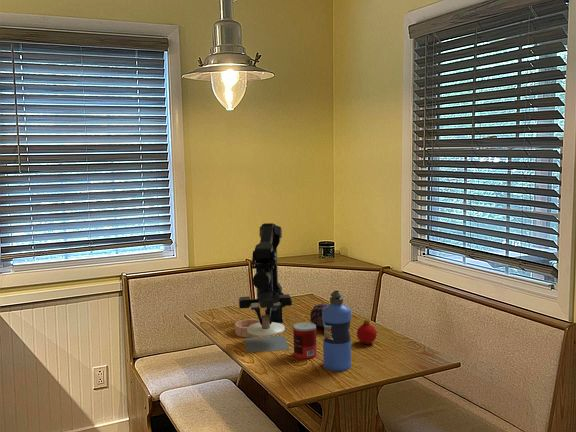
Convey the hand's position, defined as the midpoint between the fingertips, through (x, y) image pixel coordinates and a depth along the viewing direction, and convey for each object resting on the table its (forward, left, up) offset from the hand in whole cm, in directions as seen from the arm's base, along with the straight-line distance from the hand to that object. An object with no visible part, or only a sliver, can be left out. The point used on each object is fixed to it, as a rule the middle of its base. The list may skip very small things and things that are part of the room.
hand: (265, 324), depth 213 cm
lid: (0, 0, -2) cm, 2 cm away
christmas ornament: (-36, +5, -8) cm, 37 cm away
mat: (0, 0, -8) cm, 8 cm away
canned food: (-12, +14, -8) cm, 20 cm away
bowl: (+5, -14, -8) cm, 17 cm away
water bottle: (-21, +24, -8) cm, 33 cm away
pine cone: (-24, -14, -8) cm, 29 cm away
